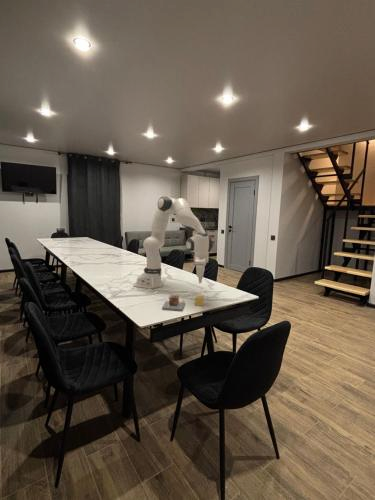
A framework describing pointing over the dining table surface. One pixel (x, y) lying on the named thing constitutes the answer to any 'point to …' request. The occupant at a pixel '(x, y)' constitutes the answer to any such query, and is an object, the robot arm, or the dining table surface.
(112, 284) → the dining table surface
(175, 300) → the block
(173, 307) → the plate
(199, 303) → the block
